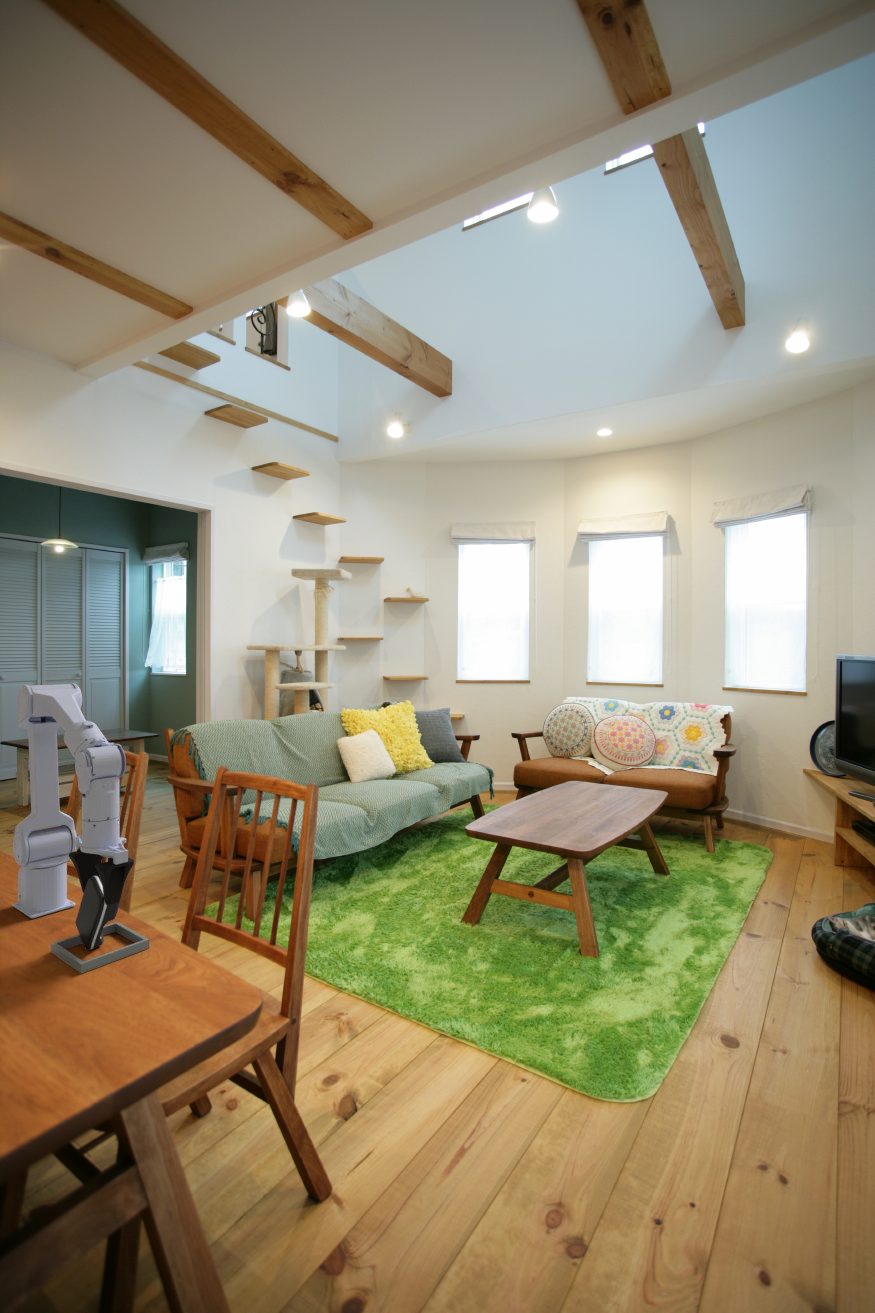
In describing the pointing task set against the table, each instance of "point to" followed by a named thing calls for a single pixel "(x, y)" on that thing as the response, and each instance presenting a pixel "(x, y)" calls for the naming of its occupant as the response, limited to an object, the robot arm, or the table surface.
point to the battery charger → (94, 914)
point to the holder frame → (80, 966)
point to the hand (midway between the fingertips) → (101, 897)
